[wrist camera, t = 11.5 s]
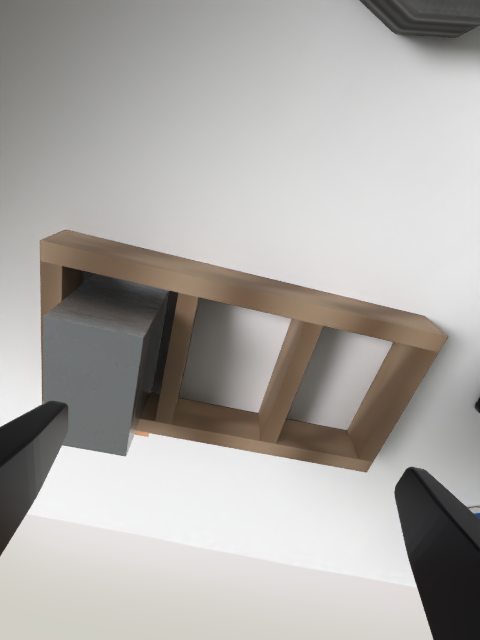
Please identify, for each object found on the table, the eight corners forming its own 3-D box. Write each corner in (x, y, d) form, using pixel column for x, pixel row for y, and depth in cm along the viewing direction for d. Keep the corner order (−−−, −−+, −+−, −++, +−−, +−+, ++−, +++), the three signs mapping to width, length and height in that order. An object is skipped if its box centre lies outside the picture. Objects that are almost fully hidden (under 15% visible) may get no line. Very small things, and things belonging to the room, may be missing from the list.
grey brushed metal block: (170, 287, 19) (143, 337, 14) (153, 383, 22) (126, 456, 17) (99, 270, 19) (43, 316, 13) (92, 371, 22) (43, 442, 16)
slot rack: (424, 316, 20) (448, 336, 18) (351, 449, 25) (363, 478, 22) (65, 229, 18) (39, 240, 15) (62, 394, 22) (42, 420, 20)
